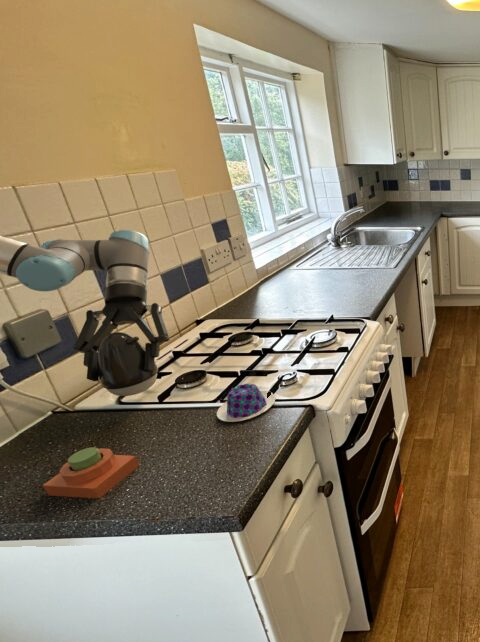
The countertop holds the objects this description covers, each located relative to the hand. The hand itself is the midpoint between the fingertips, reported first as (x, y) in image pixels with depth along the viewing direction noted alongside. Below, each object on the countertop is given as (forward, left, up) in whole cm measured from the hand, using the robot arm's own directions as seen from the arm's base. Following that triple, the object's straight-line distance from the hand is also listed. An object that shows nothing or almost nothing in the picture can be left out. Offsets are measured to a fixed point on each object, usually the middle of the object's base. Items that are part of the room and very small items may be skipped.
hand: (121, 375), depth 94 cm
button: (+13, -21, -5) cm, 25 cm away
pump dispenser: (-1, +3, -6) cm, 7 cm away
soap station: (+13, -21, -9) cm, 26 cm away
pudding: (+27, +2, -9) cm, 28 cm away
